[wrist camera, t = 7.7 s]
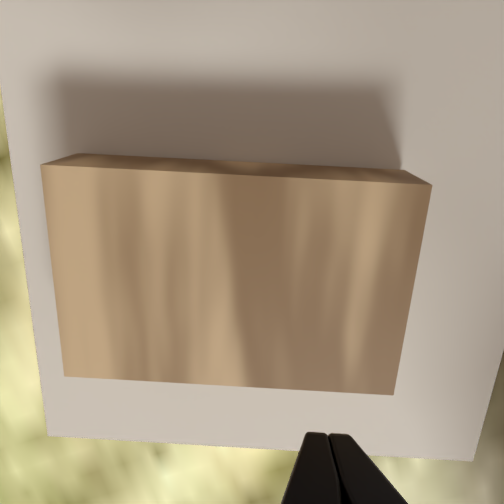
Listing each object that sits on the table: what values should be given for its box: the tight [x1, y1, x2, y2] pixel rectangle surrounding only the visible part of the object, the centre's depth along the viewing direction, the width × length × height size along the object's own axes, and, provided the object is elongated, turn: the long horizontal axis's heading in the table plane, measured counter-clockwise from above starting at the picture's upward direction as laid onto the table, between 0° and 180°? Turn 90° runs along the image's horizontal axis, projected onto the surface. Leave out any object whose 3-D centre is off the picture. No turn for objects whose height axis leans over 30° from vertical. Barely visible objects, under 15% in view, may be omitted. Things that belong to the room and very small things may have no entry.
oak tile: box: [40, 153, 432, 395], centre depth 17 cm, size 3×8×12 cm
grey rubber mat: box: [0, 0, 504, 461], centre depth 19 cm, size 21×20×1 cm
